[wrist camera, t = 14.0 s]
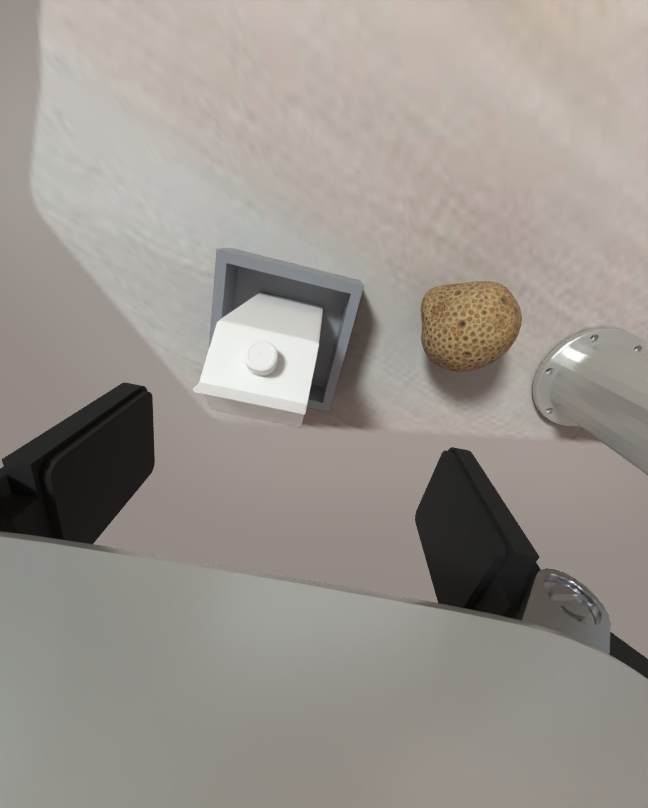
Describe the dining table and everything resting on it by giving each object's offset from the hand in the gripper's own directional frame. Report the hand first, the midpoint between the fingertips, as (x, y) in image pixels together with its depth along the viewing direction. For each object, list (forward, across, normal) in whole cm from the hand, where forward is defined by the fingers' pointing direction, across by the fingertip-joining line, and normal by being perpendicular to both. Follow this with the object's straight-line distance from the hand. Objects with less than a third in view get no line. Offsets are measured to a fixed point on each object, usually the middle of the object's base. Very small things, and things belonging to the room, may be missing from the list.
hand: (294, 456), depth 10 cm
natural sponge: (+30, -14, -2) cm, 33 cm away
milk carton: (+29, +4, +3) cm, 29 cm away
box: (+29, +4, +3) cm, 29 cm away
